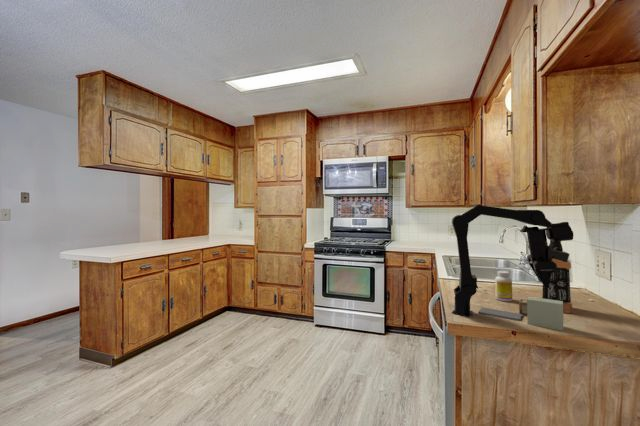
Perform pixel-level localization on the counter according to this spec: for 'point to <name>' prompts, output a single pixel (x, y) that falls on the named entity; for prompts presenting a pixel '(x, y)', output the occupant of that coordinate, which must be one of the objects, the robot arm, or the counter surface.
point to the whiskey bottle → (559, 282)
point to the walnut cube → (523, 307)
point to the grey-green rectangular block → (545, 313)
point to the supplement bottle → (503, 286)
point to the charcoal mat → (500, 313)
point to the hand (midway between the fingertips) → (544, 284)
